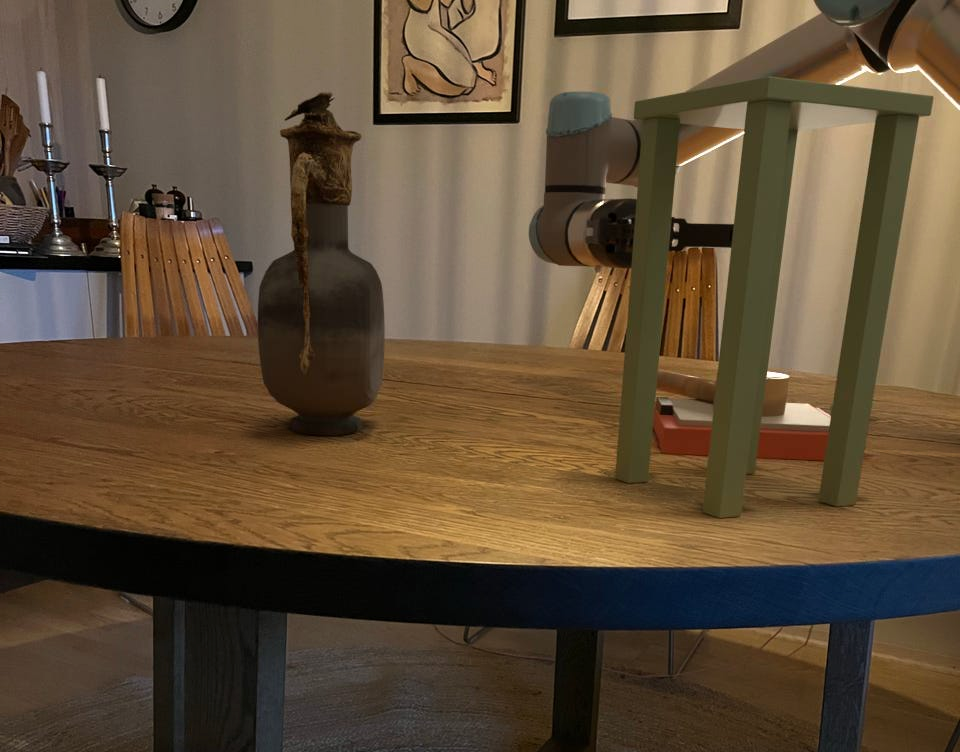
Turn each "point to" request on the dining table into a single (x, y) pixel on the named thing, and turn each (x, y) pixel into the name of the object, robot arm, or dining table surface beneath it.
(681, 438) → the scale
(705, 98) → the shelf stand
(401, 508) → the dining table surface
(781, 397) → the scoop
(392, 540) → the dining table surface
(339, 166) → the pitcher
